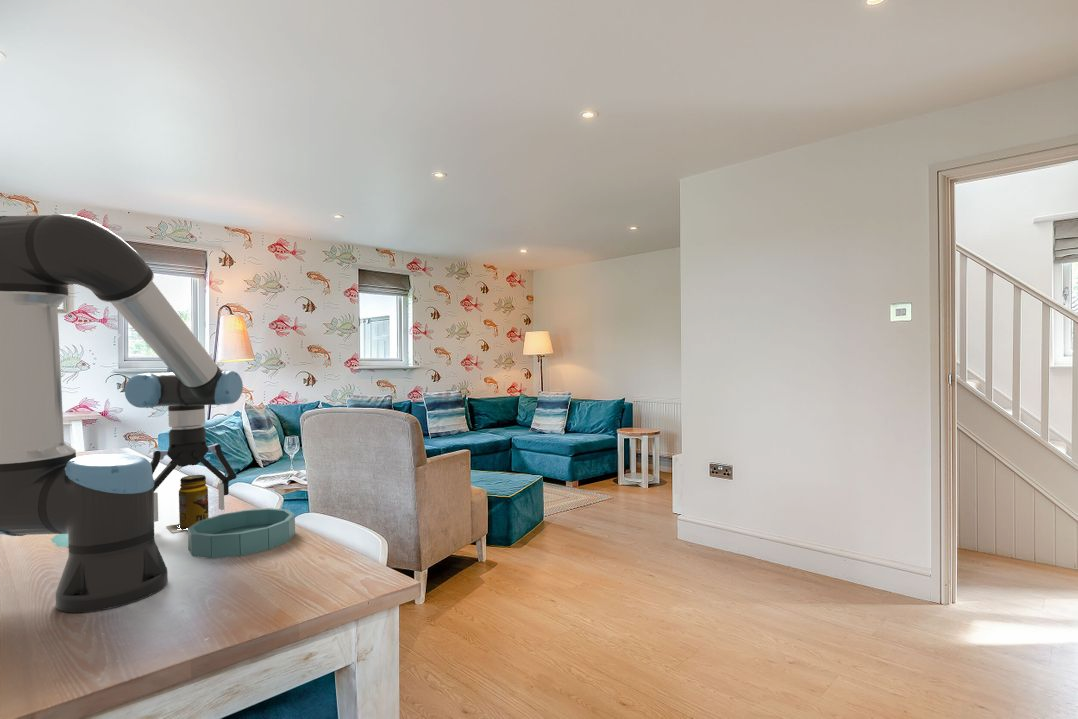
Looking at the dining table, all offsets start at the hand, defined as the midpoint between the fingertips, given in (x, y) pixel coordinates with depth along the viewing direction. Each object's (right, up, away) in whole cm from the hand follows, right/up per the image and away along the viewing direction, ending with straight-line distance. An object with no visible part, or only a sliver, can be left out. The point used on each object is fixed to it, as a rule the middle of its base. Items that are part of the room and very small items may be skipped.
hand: (189, 514), depth 133 cm
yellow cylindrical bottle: (0, -3, 0) cm, 3 cm away
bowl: (+20, -2, -13) cm, 24 cm away
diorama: (-21, -4, -6) cm, 22 cm away
